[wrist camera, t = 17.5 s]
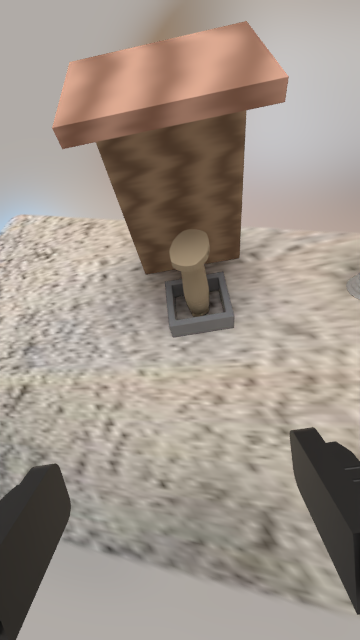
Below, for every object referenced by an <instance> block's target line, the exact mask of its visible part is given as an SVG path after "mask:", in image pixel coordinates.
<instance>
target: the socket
mask: <svg viewBox="0 0 360 640" xmlns="http://www.w3.org/2000/svg"><path fill="white" fill-rule="evenodd" d="M206 277H207V282H208V287H209V291H215V290H219V292H220V297H221V301H222V306H223V310H224V312H223V313H217V314H211V315H205V316H199V317H193V318H187V319H181V320H177V315H176V306H175V297H179V296H184V291H183V283H182V279H178V280H172V281H166V282H165V287H166V298H167V308H168V318H169V327H170V330H171V333H172V336H173V337H179V336H185V335H191V334H197V333H203V332H210V331H216V330H222V329H228V328H234V314H233V310H232V306H231V302H230V297H229V293H228V289H227V285H226V281H225V277H224V273H223V272H218V273H212V274H206Z"/></svg>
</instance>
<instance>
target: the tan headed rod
mask: <svg viewBox="0 0 360 640" xmlns="http://www.w3.org/2000/svg"><path fill="white" fill-rule="evenodd" d="M209 251H210V245H209V239H208V236H207V233H206V232H204V231H202V230H197V229H188V230H184V231H182V232H181V233H180V234H179V235H178V236H177V237H176V238H175V239H174V240H173V242H172V245H171V247H170V251H169V253H170V258H171V263H172V266H173V268H175V269H176V270H178V271H181V275H182V283H183V291H184V296H185V300H186V303H187V305H188V307H189V309H190V310H191V314H192V316H194V317H199V316H204V315H205V314H206V313H208V311H209V287H208V282H207V277H206V271H205V266H204V263H205V262H206V261H207V259H208V256H209Z"/></svg>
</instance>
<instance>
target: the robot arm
mask: <svg viewBox="0 0 360 640" xmlns="http://www.w3.org/2000/svg"><path fill="white" fill-rule="evenodd" d="M290 443H291V452H292V461H293V470H294V475H295V479H296V483H297V486H298V489H299V491H300V493H301V495H302V498H303V500H304V502H305V504H306V506H307V508H308V510H309V513H310V515H311V517H312V519H313V521H314V523H315V525H316V527H317V530H318V532H319V534H320V536H321V538H322V540H323V542H324V545H325V547H326V549H327V551H328V553H329V555H330V557H331V559H332V562H333V564H334V566H335V568H336V570H337V572H338V574H339V577H340V579H341V581H342V583H343V585H344V587H345V589H346V591H347V594H348V596H349V598H350V600H351V602H352V604H353V606H354V609H355V611H356V613H357V615H358V614H360V461H359V460H358V459H357V458H356V456H355V455H354V454H353V453H352V452H351V451H350V450H348V449H347V448H345V447H344V446H342V445H340V444H339V443H337V442H329V443H325V441H324V440H323V438H322V437H321V436H320V434H319V433H318V432H317V430H316V429H315V428H314V427H312V428H305V429H298V430H291V431H290ZM70 510H71V503H70V498H69V495H68V492H67V488H66V485H65V482H64V479H63V476H62V473H61V470H60V467H59V466H58V465H57V464H49V465H42V466H35V467H33V468H31V469H30V471H29V472H28V473H27V475H26V476H25V478H24V479H23V480H22V482H21V483H20V485H17V486H16V487H14V488H13V489H12V490H11V491H10V492H9V493H8V494H7V495H5V496H4V497H3V498H2V499H1V500H0V640H16V638H17V636H18V634H19V631H20V629H21V627H22V624H23V622H24V620H25V618H26V615H27V613H28V611H29V608H30V606H31V604H32V602H33V599H34V597H35V595H36V593H37V590H38V588H39V586H40V583H41V581H42V579H43V577H44V574H45V572H46V570H47V568H48V565H49V563H50V560H51V559H52V556H53V554H54V552H55V550H56V547H57V545H58V543H59V540H60V538H61V536H62V534H63V531H64V529H65V527H66V525H67V522H68V520H69V516H70Z"/></svg>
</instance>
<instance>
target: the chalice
mask: <svg viewBox="0 0 360 640" xmlns="http://www.w3.org/2000/svg"><path fill="white" fill-rule="evenodd" d="M347 290H348V291H349V293H350V294H351V295H352V296H354V297H355V298H358V299H360V273H359V274H357V275H356V276H354V277H352V278H351V279H349V280H348V282H347Z"/></svg>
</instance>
